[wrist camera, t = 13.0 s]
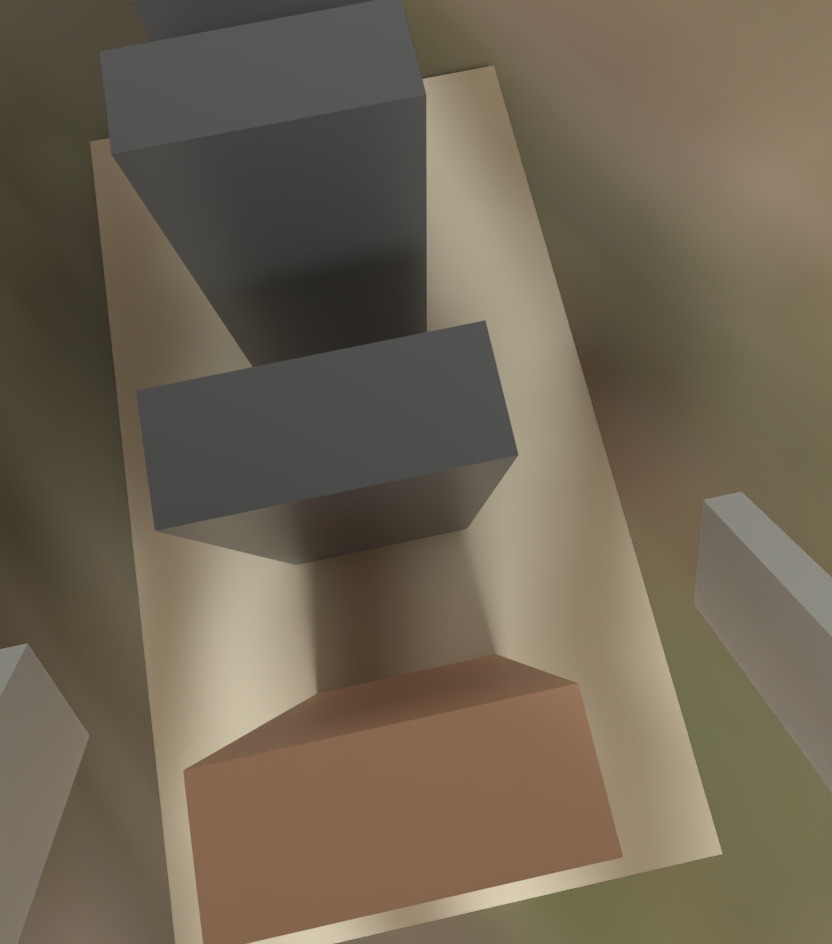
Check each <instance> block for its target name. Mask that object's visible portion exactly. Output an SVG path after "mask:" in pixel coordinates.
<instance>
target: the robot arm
mask: <svg viewBox="0 0 832 944" xmlns="http://www.w3.org/2000/svg"><path fill="white" fill-rule="evenodd" d="M694 605H695V606H696V608H697V609H698V610H699V612H700V613H701V614H702V616H703V617H704V618H705V620H706V621H707V623H708V624H709V625H710V627H711V628H712V629H713V631H714V632H715V634H716V635H717V636H718V638H719V639H720V640H721V642H722V643H723V644H724V646H725V647H726V649H727V650H728V651H729V653H730V654H731V655H732V657H733V658H734V659H735V661H736V662H737V664H738V665H739V666H740V668H741V669H742V670H743V672H744V673H745V674H746V676H747V677H748V679H749V680H750V681H751V683H752V684H753V685H754V687H755V688H756V690H757V691H758V692H759V694H760V695H761V696H762V698H763V699H764V700H765V702H766V703H767V705H768V706H769V707H770V709H771V710H772V711H773V713H774V714H775V715H776V717H777V718H778V720H779V721H780V722H781V724H782V725H783V726H784V728H785V729H786V730H787V732H788V733H789V735H790V736H791V737H792V739H793V740H794V741H795V743H796V744H797V746H798V747H799V748H800V750H801V751H802V752H803V754H804V755H805V756H806V758H807V759H808V761H809V762H810V763H811V765H812V766H813V767H814V769H815V770H816V771H817V773H818V774H819V776H820V777H821V778H822V780H823V781H824V782H825V784H826V785H827V786H828V788H829V789H830V791H831V792H832V577H830V576H829V575H828V574H827V573H826V572H825V571H824V570H823V569H822V568H821V567H820V566H819V565H818V564H817V563H816V562H815V561H814V560H813V559H812V558H810V557H809V556H808V555H807V554H806V553H805V552H804V551H803V550H802V549H801V548H800V547H799V546H798V545H797V544H796V543H795V542H794V541H793V540H792V539H791V538H789V537H788V536H787V535H786V534H785V533H784V532H783V531H782V530H781V529H780V528H779V527H778V526H777V525H776V524H775V523H774V522H773V521H772V520H771V519H769V518H768V517H767V516H766V515H765V514H764V513H763V512H762V511H761V510H760V509H759V508H758V507H757V506H756V505H755V504H754V503H753V502H752V501H751V500H750V499H748V498H747V497H746V496H745V495H744V494H743V493H742V492H738V493H733V494H728V495H723V496H719V497H714V498H709V499H705V500H703V508H702V520H701V531H700V542H699V553H698V564H697V576H696V587H695V598H694ZM88 739H89V734H88V733H87V731H86V730H85V728H84V727H83V725H82V724H81V722H80V721H79V719H78V718H77V716H76V715H75V713H74V712H73V710H72V709H71V707H70V706H69V704H68V703H67V701H66V700H65V698H64V697H63V695H62V694H61V692H60V691H59V689H58V688H57V686H56V685H55V683H54V682H53V680H52V679H51V677H50V676H49V674H48V673H47V671H46V670H45V668H44V667H43V665H42V664H41V662H40V661H39V659H38V658H37V656H36V655H35V654H34V652H33V651H32V649H31V648H30V646H29V645H28V643H27V644H23V645H18V646H13V647H9V648H4V649H0V944H18V941H19V938H20V935H21V933H22V930H23V927H24V924H25V921H26V918H27V915H28V912H29V909H30V906H31V904H32V901H33V898H34V895H35V892H36V889H37V886H38V883H39V880H40V877H41V875H42V872H43V869H44V866H45V863H46V860H47V857H48V854H49V851H50V849H51V846H52V843H53V840H54V837H55V834H56V831H57V828H58V825H59V822H60V820H61V817H62V814H63V811H64V808H65V805H66V802H67V799H68V796H69V794H70V791H71V788H72V785H73V782H74V779H75V776H76V773H77V770H78V767H79V765H80V762H81V759H82V756H83V753H84V750H85V747H86V744H87V741H88Z"/></svg>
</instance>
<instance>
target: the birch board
mask: <svg viewBox="0 0 832 944" xmlns="http://www.w3.org/2000/svg"><path fill="white" fill-rule="evenodd" d="M422 80H423V84H424V87H425V91H426V168H427V332H430V331H435V330H440V329H445V328H450V327H455V326H460V325H465V324H470V323H475V322H479V321H484V320H486V324H487V328H488V333H489V337H490V341H491V345H492V349H493V353H494V357H495V361H496V365H497V369H498V373H499V377H500V381H501V385H502V390H503V394H504V398H505V402H506V406H507V410H508V414H509V418H510V422H511V426H512V430H513V434H514V438H515V442H516V447H517V451H518V457H517V458H516V460H515V461H514V462H513V464H512V465H511V467H510V468H509V470H508V471H507V472H506V474H505V475H504V477H503V478H502V480H501V481H500V482H499V484H498V485H497V487H496V488H495V490H494V491H493V492H492V494H491V495H490V497H489V498H488V500H487V501H486V502H485V504H484V505H483V507H482V508H481V510H480V511H479V512H478V514H477V515H476V517H475V518H474V520H473V521H472V522H471V524H470V525H469V527H468V528H467V529H464V530H459V531H455V532H450V533H445V534H440V535H436V536H431V537H426V538H421V539H417V540H412V541H407V542H402V543H398V544H393V545H388V546H384V547H379V548H374V549H369V550H365V551H360V552H355V553H350V554H346V555H341V556H336V557H332V558H327V559H322V560H317V561H313V562H308V563H303V564H298V565H293V564H289V563H285V562H281V561H277V560H272V559H268V558H264V557H260V556H256V555H252V554H248V553H244V552H240V551H235V550H231V549H227V548H223V547H219V546H215V545H211V544H207V543H203V542H199V541H194V540H190V539H186V538H182V537H178V536H174V535H170V534H166V533H162V532H158V531H155V528H154V521H153V514H152V506H151V499H150V491H149V484H148V477H147V469H146V462H145V454H144V447H143V440H142V432H141V425H140V418H139V410H138V403H137V395H136V390H141V389H146V388H151V387H156V386H161V385H166V384H171V383H176V382H181V381H186V380H191V379H196V378H201V377H206V376H211V375H216V374H221V373H226V372H231V371H236V370H241V369H246V368H251V367H252V365H251V364H250V362H249V361H248V359H247V358H246V356H245V355H244V353H243V352H242V350H241V349H240V347H239V346H238V344H237V343H236V341H235V340H234V338H233V337H232V335H231V334H230V332H229V331H228V329H227V328H226V326H225V325H224V323H223V322H222V320H221V319H220V317H219V316H218V314H217V313H216V311H215V310H214V308H213V307H212V305H211V304H210V302H209V301H208V299H207V298H206V296H205V295H204V293H203V292H202V290H201V289H200V287H199V286H198V284H197V283H196V281H195V280H194V278H193V277H192V275H191V274H190V272H189V271H188V269H187V268H186V266H185V265H184V263H183V262H182V260H181V259H180V257H179V255H178V254H177V252H176V251H175V249H174V248H173V246H172V245H171V243H170V242H169V240H168V239H167V237H166V236H165V234H164V233H163V231H162V230H161V228H160V227H159V225H158V224H157V222H156V221H155V219H154V218H153V216H152V215H151V213H150V212H149V210H148V209H147V207H146V206H145V204H144V203H143V201H142V200H141V198H140V197H139V195H138V194H137V192H136V191H135V189H134V188H133V186H132V185H131V183H130V182H129V180H128V179H127V177H126V176H125V174H124V173H123V171H122V170H121V168H120V167H119V165H118V164H117V162H116V161H115V159H114V158H113V156H112V155H111V148H110V140H109V138H106V139H101V140H96V141H90V146H91V156H92V165H93V174H94V184H95V193H96V203H97V212H98V221H99V231H100V240H101V250H102V259H103V268H104V278H105V287H106V297H107V306H108V315H109V325H110V334H111V344H112V353H113V362H114V372H115V381H116V391H117V400H118V409H119V419H120V428H121V438H122V447H123V456H124V466H125V475H126V485H127V494H128V503H129V513H130V522H131V532H132V541H133V550H134V560H135V569H136V579H137V588H138V597H139V607H140V616H141V626H142V635H143V644H144V654H145V663H146V673H147V682H148V691H149V701H150V710H151V720H152V729H153V738H154V748H155V757H156V767H157V776H158V785H159V795H160V804H161V814H162V823H163V832H164V842H165V851H166V861H167V870H168V879H169V889H170V898H171V908H172V917H173V926H174V936H175V944H203V939H202V931H201V922H200V913H199V905H198V896H197V887H196V879H195V870H194V861H193V852H192V844H191V835H190V826H189V818H188V809H187V800H186V792H185V783H184V774H183V770H185V769H186V768H188V767H190V766H192V765H193V764H195V763H197V762H199V761H200V760H202V759H204V758H206V757H207V756H209V755H211V754H213V753H214V752H216V751H218V750H219V749H221V748H223V747H225V746H226V745H228V744H230V743H232V742H233V741H235V740H237V739H239V738H240V737H242V736H244V735H246V734H247V733H249V732H251V731H252V730H254V729H256V728H258V727H259V726H261V725H263V724H265V723H266V722H268V721H270V720H272V719H273V718H275V717H277V716H279V715H280V714H282V713H284V712H285V711H287V710H289V709H291V708H292V707H294V706H296V705H298V704H299V703H301V702H303V701H305V700H306V699H308V698H310V697H312V696H313V695H315V694H317V693H321V692H325V691H330V690H335V689H339V688H344V687H348V686H353V685H357V684H362V683H367V682H371V681H376V680H380V679H385V678H390V677H394V676H399V675H403V674H408V673H412V672H417V671H422V670H426V669H431V668H435V667H440V666H445V665H449V664H454V663H458V662H463V661H468V660H472V659H477V658H481V657H486V656H490V655H495V654H497V655H500V656H503V657H506V658H508V659H511V660H514V661H517V662H520V663H523V664H525V665H528V666H531V667H534V668H537V669H539V670H542V671H545V672H548V673H551V674H554V675H556V676H559V677H562V678H565V679H568V680H570V681H573V682H576V683H578V684H579V688H580V692H581V695H582V699H583V703H584V707H585V711H586V715H587V719H588V723H589V727H590V730H591V734H592V738H593V742H594V746H595V750H596V754H597V758H598V762H599V765H600V769H601V773H602V777H603V781H604V785H605V789H606V793H607V797H608V801H609V804H610V808H611V812H612V816H613V820H614V824H615V828H616V832H617V836H618V839H619V843H620V847H621V851H622V855H623V857H622V858H617V859H613V860H609V861H604V862H600V863H596V864H591V865H587V866H583V867H578V868H574V869H570V870H565V871H561V872H557V873H552V874H548V875H543V876H539V877H535V878H530V879H526V880H522V881H517V882H513V883H509V884H504V885H500V886H496V887H491V888H487V889H483V890H478V891H474V892H469V893H465V894H461V895H456V896H452V897H448V898H443V899H439V900H435V901H430V902H426V903H422V904H417V905H413V906H409V907H404V908H400V909H395V910H391V911H387V912H382V913H378V914H374V915H369V916H365V917H361V918H356V919H352V920H348V921H343V922H339V923H335V924H330V925H326V926H321V927H317V928H313V929H308V930H304V931H300V932H295V933H291V934H287V935H282V936H278V937H274V938H269V939H265V940H261V941H256V942H252V943H247V944H334V943H338V942H343V941H347V940H351V939H356V938H360V937H364V936H369V935H373V934H377V933H382V932H386V931H390V930H395V929H399V928H403V927H408V926H412V925H416V924H421V923H425V922H429V921H434V920H438V919H442V918H447V917H451V916H455V915H460V914H464V913H468V912H473V911H477V910H481V909H486V908H490V907H494V906H499V905H503V904H507V903H512V902H516V901H520V900H525V899H529V898H533V897H538V896H542V895H546V894H551V893H555V892H559V891H564V890H568V889H572V888H577V887H581V886H585V885H590V884H594V883H598V882H603V881H607V880H611V879H616V878H620V877H624V876H629V875H633V874H637V873H642V872H646V871H650V870H655V869H659V868H663V867H668V866H672V865H676V864H681V863H685V862H689V861H694V860H698V859H702V858H707V857H711V856H715V855H720V854H722V851H721V847H720V844H719V840H718V837H717V834H716V830H715V827H714V823H713V820H712V816H711V813H710V809H709V806H708V803H707V799H706V796H705V792H704V789H703V785H702V782H701V778H700V775H699V771H698V768H697V765H696V761H695V758H694V754H693V751H692V747H691V744H690V740H689V737H688V734H687V730H686V727H685V723H684V720H683V716H682V713H681V709H680V706H679V703H678V699H677V696H676V692H675V689H674V685H673V682H672V678H671V675H670V671H669V668H668V665H667V661H666V658H665V654H664V651H663V647H662V644H661V640H660V637H659V634H658V630H657V627H656V623H655V620H654V616H653V613H652V609H651V606H650V602H649V599H648V596H647V592H646V589H645V585H644V582H643V578H642V575H641V571H640V568H639V565H638V561H637V558H636V554H635V551H634V547H633V544H632V540H631V537H630V533H629V530H628V527H627V523H626V520H625V516H624V513H623V509H622V506H621V502H620V499H619V496H618V492H617V489H616V485H615V482H614V478H613V475H612V471H611V468H610V465H609V461H608V458H607V454H606V451H605V447H604V444H603V440H602V437H601V433H600V430H599V427H598V423H597V420H596V416H595V413H594V409H593V406H592V402H591V399H590V396H589V392H588V389H587V385H586V382H585V378H584V375H583V371H582V368H581V364H580V361H579V358H578V354H577V351H576V347H575V344H574V340H573V337H572V333H571V330H570V327H569V323H568V320H567V316H566V313H565V309H564V306H563V302H562V299H561V295H560V292H559V289H558V285H557V282H556V278H555V275H554V271H553V268H552V264H551V261H550V258H549V254H548V251H547V247H546V244H545V240H544V237H543V233H542V230H541V227H540V223H539V220H538V216H537V213H536V209H535V206H534V202H533V199H532V195H531V192H530V189H529V185H528V182H527V178H526V175H525V171H524V168H523V164H522V161H521V158H520V154H519V151H518V147H517V144H516V140H515V137H514V133H513V130H512V126H511V123H510V120H509V116H508V113H507V109H506V106H505V102H504V99H503V95H502V92H501V89H500V85H499V82H498V78H497V75H496V71H495V68H494V66H489V67H483V68H478V69H473V70H467V71H462V72H457V73H452V74H446V75H441V76H436V77H430V78H425V79H422Z"/></svg>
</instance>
